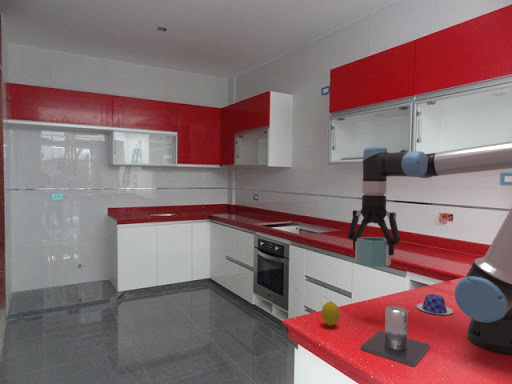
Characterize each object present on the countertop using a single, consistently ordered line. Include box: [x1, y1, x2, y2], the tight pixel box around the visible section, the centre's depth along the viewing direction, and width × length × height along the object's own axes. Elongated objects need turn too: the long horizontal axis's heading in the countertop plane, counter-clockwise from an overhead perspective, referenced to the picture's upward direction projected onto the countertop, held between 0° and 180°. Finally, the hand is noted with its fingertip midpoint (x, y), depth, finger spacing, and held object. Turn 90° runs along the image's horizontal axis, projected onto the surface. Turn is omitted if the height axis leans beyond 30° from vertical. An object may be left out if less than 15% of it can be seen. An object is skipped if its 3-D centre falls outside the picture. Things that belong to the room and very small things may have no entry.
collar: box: [355, 236, 388, 268], centre depth 118 cm, size 10×10×8 cm
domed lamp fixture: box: [360, 305, 431, 368], centre depth 99 cm, size 14×14×11 cm
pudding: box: [416, 293, 454, 316], centre depth 131 cm, size 12×12×5 cm
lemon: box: [321, 300, 340, 327], centre depth 114 cm, size 6×6×8 cm
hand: (372, 262), depth 118 cm, fingers closed on collar, 9 cm apart
